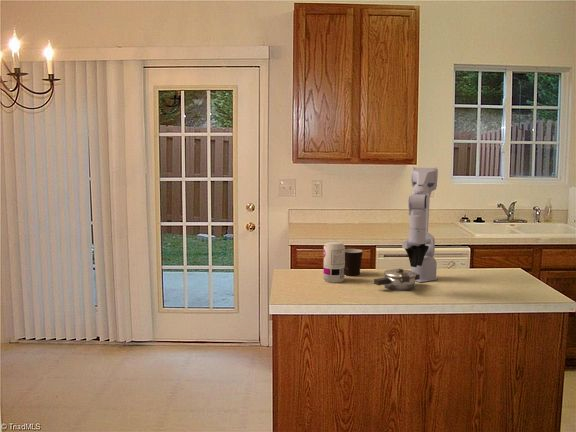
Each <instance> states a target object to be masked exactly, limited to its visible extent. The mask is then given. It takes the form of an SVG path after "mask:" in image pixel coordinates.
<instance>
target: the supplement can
mask: <svg viewBox="0 0 576 432" xmlns="http://www.w3.org/2000/svg"><path fill="white" fill-rule="evenodd" d="M345 249H346V246H345V243H344V242H342V241H336V240H335V241H334V240H333V241H326V242H325V243H324V245H323V270H322V271H323V273H322V274H323V275H322V276H323V277H322V278H323V280H324V282H326V283H332V284H333V283H334V284H339V283H342V282H344V280H345V275H344V274H345Z"/></svg>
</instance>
